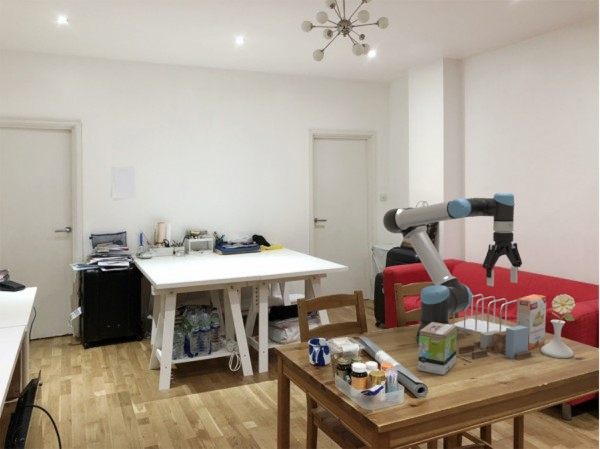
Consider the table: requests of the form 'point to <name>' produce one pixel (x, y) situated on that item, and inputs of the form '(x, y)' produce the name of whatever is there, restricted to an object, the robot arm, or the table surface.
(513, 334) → the panel
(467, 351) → the stand
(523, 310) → the cracker box
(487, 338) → the offcut grey
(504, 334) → the offcut brown
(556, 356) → the flower in vase
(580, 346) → the table surface
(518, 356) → the rack
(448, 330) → the tea box
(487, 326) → the file sorter
